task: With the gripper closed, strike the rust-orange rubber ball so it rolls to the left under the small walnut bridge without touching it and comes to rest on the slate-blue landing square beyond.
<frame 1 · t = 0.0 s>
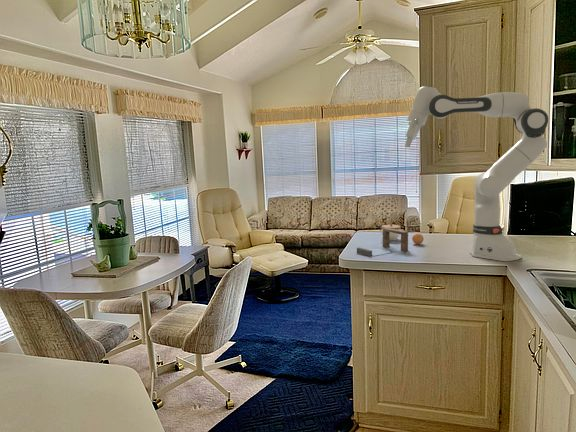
hand: (407, 147, 214), 52 cm above the table, tool tilted 20°, fingers open, 8 cm apart
bridge: (394, 248, 227), on the table
ball: (417, 238, 235), on the table
stopper: (364, 254, 216), on the table
lidded jar: (391, 239, 250), on the table
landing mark: (374, 252, 220), on the table
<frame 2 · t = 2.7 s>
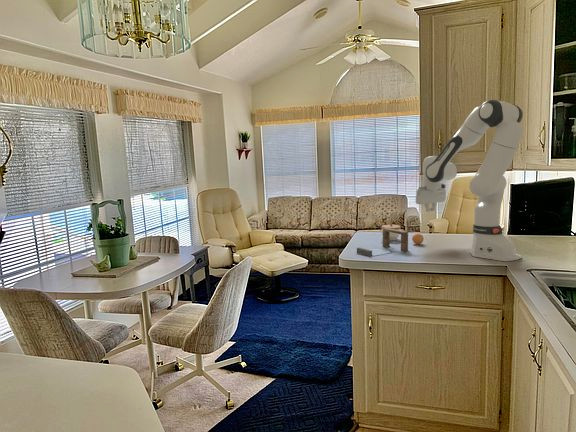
hand: (430, 211, 238), 17 cm above the table, tool pointing down, fingers closed
nothing on the table moved.
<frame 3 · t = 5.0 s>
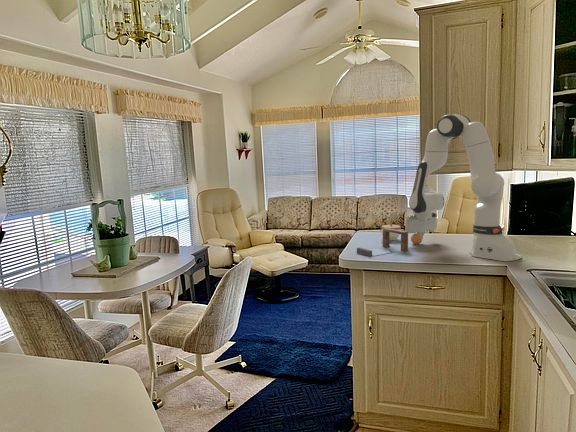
hand: (420, 239, 237), 2 cm above the table, tool pointing down, fingers closed, pressing on ball
ball: (416, 238, 235), on the table, touching gripper
everything else where it was.
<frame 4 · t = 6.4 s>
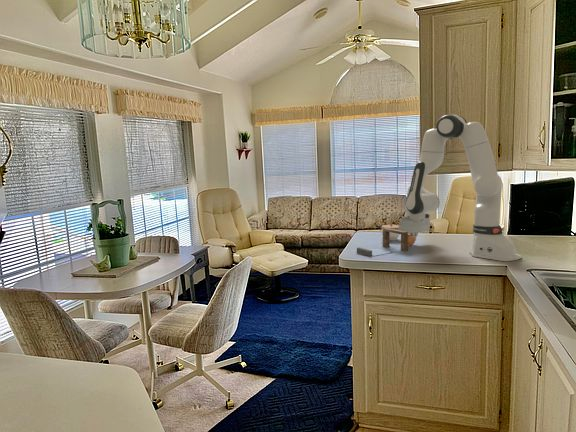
hand: (413, 240, 235), 2 cm above the table, tool pointing down, fingers closed
ball: (409, 240, 232), on the table, touching gripper
everything else where it was.
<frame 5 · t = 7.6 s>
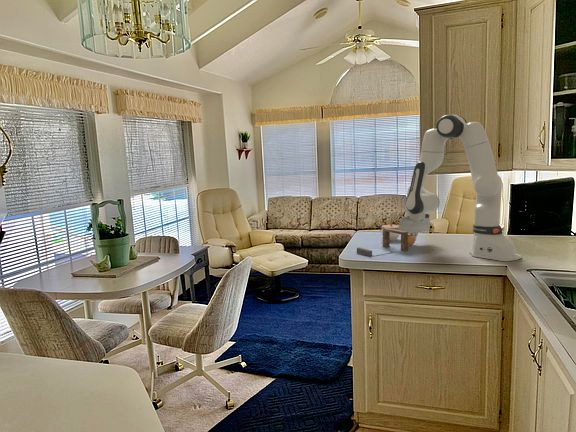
hand: (413, 240, 235), 2 cm above the table, tool pointing down, fingers closed
nothing on the table moved.
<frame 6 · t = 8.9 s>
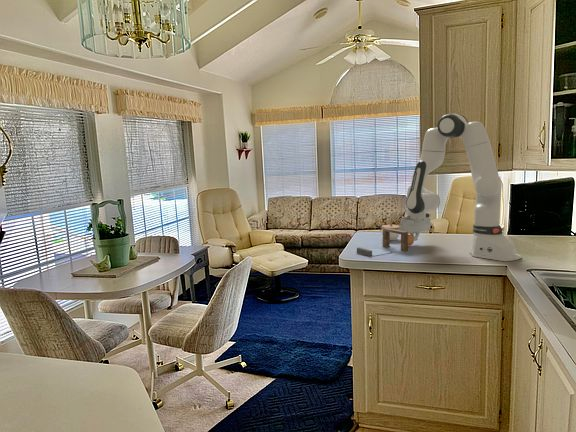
hand: (414, 240, 234), 2 cm above the table, tool pointing down, fingers closed
ball: (408, 240, 232), on the table
everything else where it was.
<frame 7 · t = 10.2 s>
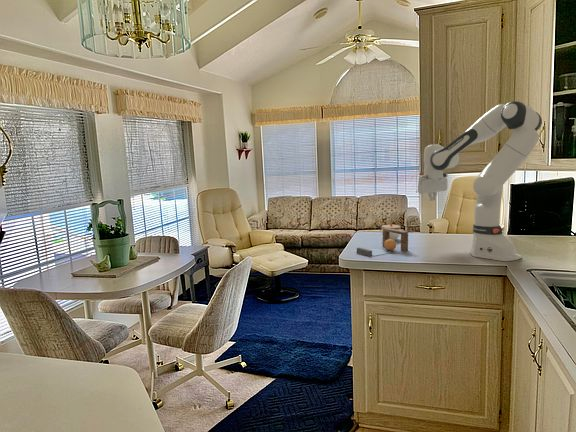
hand: (432, 200, 235), 23 cm above the table, tool pointing down, fingers closed
ball: (390, 244, 222), on the table
everything else where it was.
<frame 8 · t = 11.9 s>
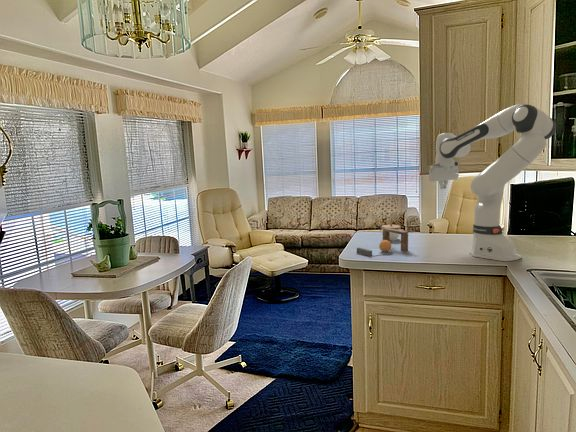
hand: (443, 188, 237), 29 cm above the table, tool pointing down, fingers closed
ball: (385, 246, 219), on the table
everything else where it was.
at the end: ball 5.3 cm from the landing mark (horizontally); ball never touched bridge; ball at rest at the end (0.0 cm/s) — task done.
